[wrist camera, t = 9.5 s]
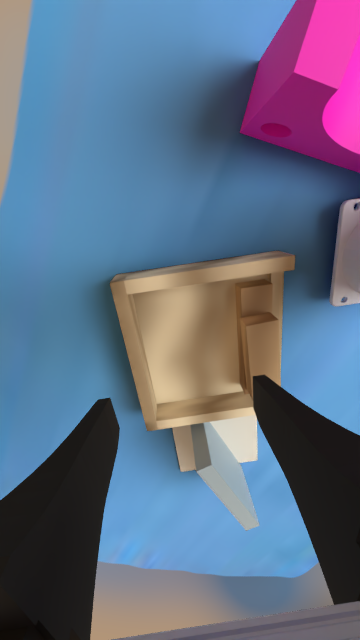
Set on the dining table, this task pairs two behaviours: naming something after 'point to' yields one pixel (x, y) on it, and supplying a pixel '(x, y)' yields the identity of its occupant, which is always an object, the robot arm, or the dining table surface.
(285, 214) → the dining table surface
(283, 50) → the toy block
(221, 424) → the mat
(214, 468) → the sheet
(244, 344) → the offcut upper
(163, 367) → the wooden tray
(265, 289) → the offcut lower
